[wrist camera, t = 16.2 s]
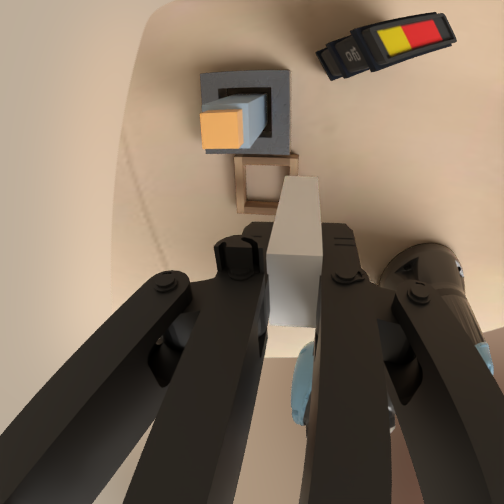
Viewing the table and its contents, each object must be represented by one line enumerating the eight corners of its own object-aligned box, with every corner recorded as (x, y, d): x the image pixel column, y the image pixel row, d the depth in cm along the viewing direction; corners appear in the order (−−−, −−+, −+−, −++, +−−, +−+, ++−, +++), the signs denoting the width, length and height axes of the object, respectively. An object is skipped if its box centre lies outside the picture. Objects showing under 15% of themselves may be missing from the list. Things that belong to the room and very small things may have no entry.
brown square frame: (296, 209, 41) (296, 216, 39) (240, 206, 42) (237, 213, 41) (298, 154, 37) (298, 158, 35) (237, 152, 38) (234, 156, 36)
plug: (267, 123, 35) (245, 154, 23) (236, 123, 36) (197, 154, 23) (267, 93, 33) (243, 105, 21) (235, 93, 33) (193, 108, 21)
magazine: (291, 63, 29) (362, 24, 15) (371, 35, 29) (452, 8, 15) (306, 90, 30) (385, 69, 17) (384, 59, 30) (468, 42, 17)
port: (290, 146, 36) (289, 155, 33) (215, 145, 38) (205, 153, 34) (291, 70, 31) (289, 70, 27) (210, 73, 32) (200, 73, 29)
